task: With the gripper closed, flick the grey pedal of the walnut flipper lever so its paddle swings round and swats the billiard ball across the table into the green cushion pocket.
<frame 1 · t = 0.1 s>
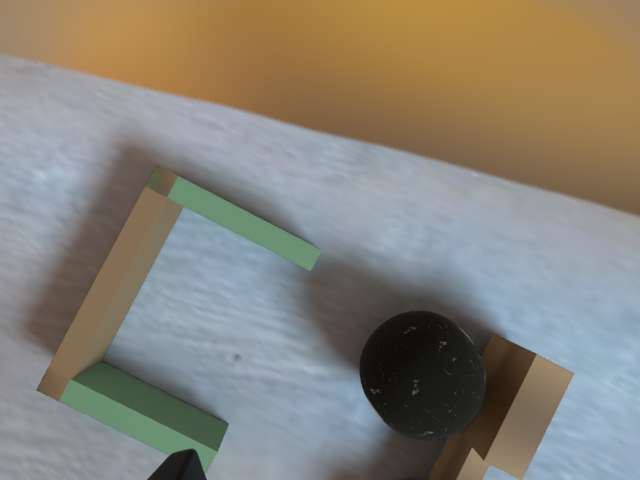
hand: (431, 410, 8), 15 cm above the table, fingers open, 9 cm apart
billiard ball: (404, 354, 23), on the table
pocket: (269, 345, 23), on the table
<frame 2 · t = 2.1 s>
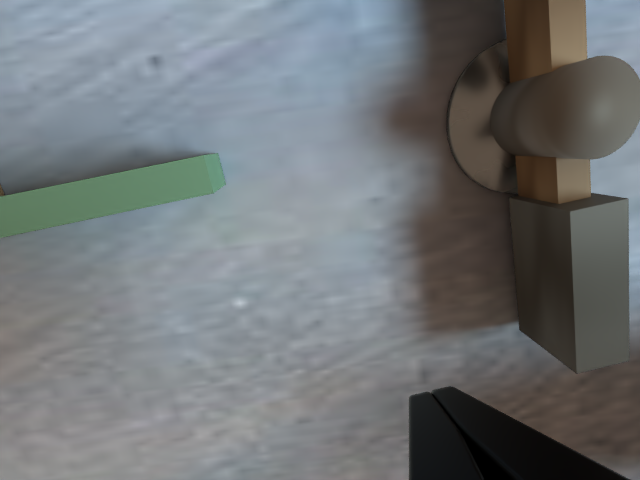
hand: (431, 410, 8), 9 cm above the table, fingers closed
pivot disc: (518, 118, 16), on the table
pocket: (181, 10, 14), on the table
flipper: (563, 57, 13), point 3 cm above the table, hinge at 0.0°
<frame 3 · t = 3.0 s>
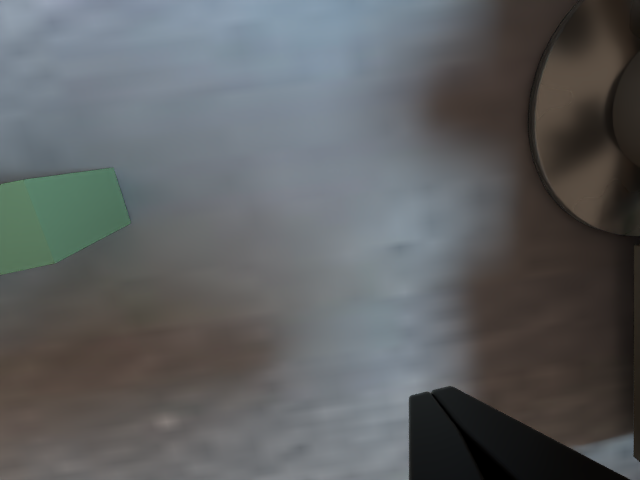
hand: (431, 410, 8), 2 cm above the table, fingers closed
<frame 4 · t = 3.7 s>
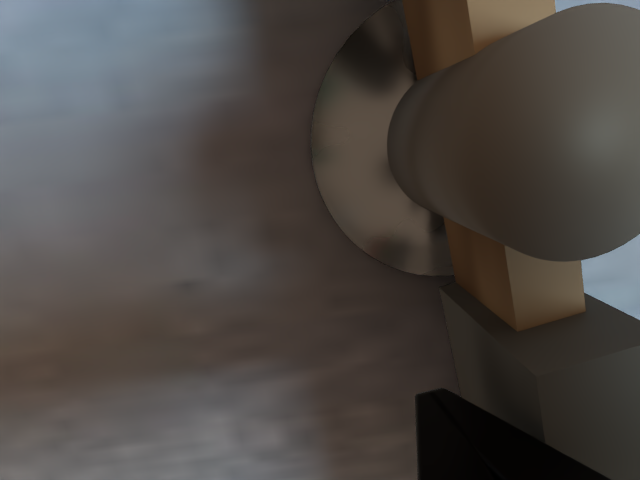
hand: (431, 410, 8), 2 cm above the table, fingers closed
pivot disc: (446, 142, 9), on the table
flipper: (502, 19, 6), point 3 cm above the table, hinge at 4.8°, touching billiard ball, gripper
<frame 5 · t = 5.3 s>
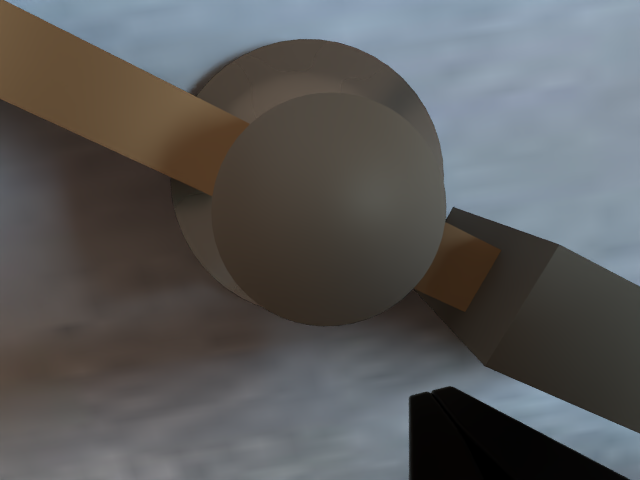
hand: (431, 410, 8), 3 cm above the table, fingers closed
pivot disc: (310, 186, 9), on the table
flipper: (219, 153, 6), point 3 cm above the table, hinge at 52.0°
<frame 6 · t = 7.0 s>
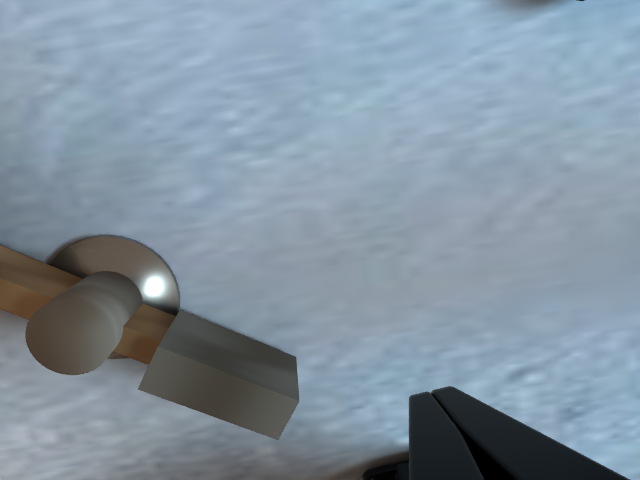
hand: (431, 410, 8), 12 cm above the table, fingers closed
pivot disc: (114, 297, 19), on the table
flipper: (42, 305, 16), point 3 cm above the table, hinge at 52.0°
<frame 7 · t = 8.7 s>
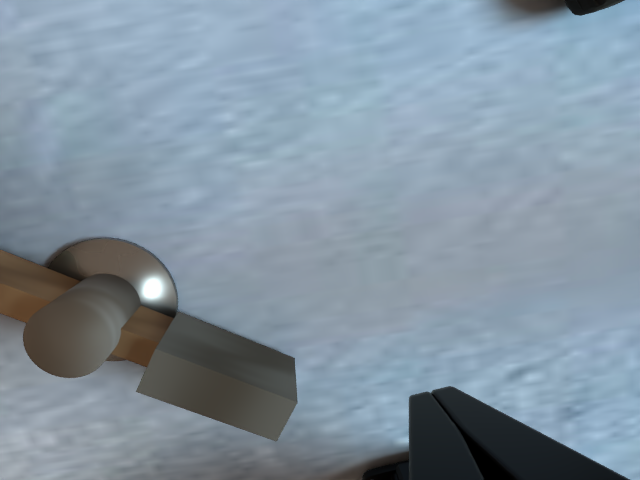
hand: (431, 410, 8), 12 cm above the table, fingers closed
pivot disc: (112, 300, 19), on the table
flipper: (39, 309, 16), point 3 cm above the table, hinge at 52.0°
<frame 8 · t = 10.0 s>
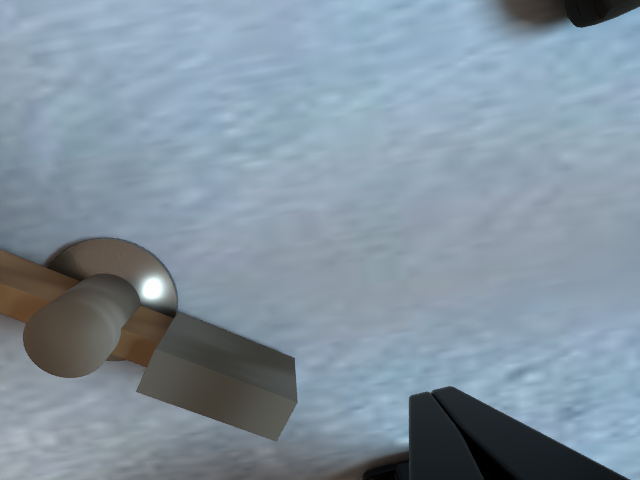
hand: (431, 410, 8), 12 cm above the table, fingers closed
pivot disc: (112, 300, 19), on the table
flipper: (39, 309, 16), point 3 cm above the table, hinge at 52.0°
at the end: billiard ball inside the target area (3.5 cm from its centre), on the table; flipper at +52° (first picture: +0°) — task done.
